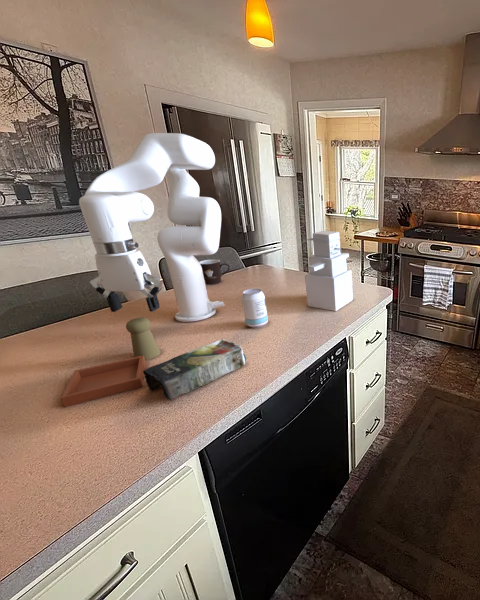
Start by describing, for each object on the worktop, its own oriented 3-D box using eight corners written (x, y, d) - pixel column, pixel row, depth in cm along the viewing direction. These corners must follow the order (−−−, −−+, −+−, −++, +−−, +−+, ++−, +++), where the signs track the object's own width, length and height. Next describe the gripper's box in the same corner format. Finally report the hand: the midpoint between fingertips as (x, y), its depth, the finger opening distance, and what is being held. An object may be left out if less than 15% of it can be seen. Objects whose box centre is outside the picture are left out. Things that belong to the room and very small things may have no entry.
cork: (146, 362, 88) (135, 325, 84) (128, 359, 89) (116, 323, 85) (166, 351, 93) (156, 316, 89) (148, 348, 94) (138, 314, 90)
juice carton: (228, 353, 92) (224, 333, 90) (250, 363, 88) (246, 343, 85) (148, 390, 76) (140, 368, 74) (169, 405, 72) (162, 382, 69)
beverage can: (254, 319, 114) (249, 287, 110) (272, 321, 113) (267, 288, 109) (242, 327, 108) (235, 294, 104) (260, 330, 107) (255, 295, 102)
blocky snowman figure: (298, 311, 122) (290, 236, 112) (333, 292, 142) (328, 227, 132) (327, 316, 117) (321, 239, 107) (359, 296, 138) (356, 229, 128)
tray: (145, 362, 87) (143, 355, 87) (142, 386, 78) (139, 378, 77) (78, 378, 80) (74, 370, 80) (64, 407, 71) (60, 397, 70)
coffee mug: (198, 284, 150) (193, 263, 146) (211, 279, 158) (207, 259, 154) (221, 286, 148) (217, 264, 145) (233, 280, 156) (229, 260, 152)
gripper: (161, 243, 84) (177, 304, 91) (91, 243, 83) (113, 304, 90) (141, 250, 77) (161, 315, 84) (65, 250, 76) (90, 316, 83)
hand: (136, 309), depth 87 cm, fingers open, 9 cm apart
